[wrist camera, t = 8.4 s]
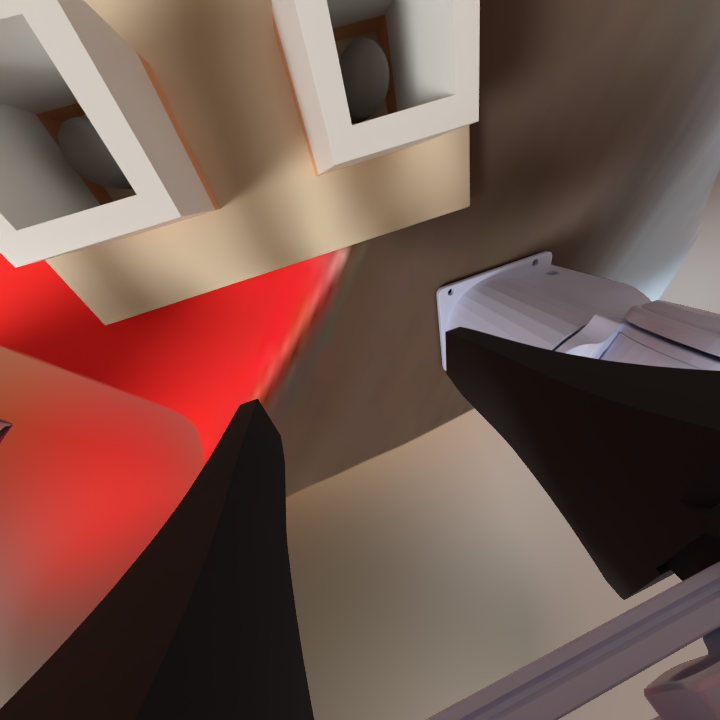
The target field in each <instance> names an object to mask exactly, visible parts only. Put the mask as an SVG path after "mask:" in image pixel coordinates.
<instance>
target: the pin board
mask: <svg viewBox="0 0 720 720" xmlns="http://www.w3.org/2000/svg"><path fill="white" fill-rule="evenodd" d="M84 1H85V2H86V3H87V4H88V5H89V6H90V7H91V8H92V9H93V10H94V11H95V12H96V13H97V14H98V15H99V16H100V17H101V18H102V19H104V20H105V21H106V22H107V23H108V24H109V25H110V26H111V27H112V28H113V29H114V30H115V31H116V32H117V33H118V34H119V35H120V36H121V37H122V38H123V39H124V40H125V41H126V42H127V43H128V44H129V45H130V46H131V47H132V48H133V49H134V50H135V51H136V52H137V53H138V54H139V55H140V56H142V57H143V58H144V59H145V60H146V61H147V62H148V63H149V64H150V65H151V67H152V70H153V72H154V74H155V76H156V78H157V80H158V82H159V84H160V86H161V88H162V90H163V92H164V94H165V96H166V98H167V100H168V102H169V104H170V106H171V108H172V110H173V112H174V115H175V117H176V119H177V121H178V123H179V125H180V127H181V129H182V131H183V133H184V135H185V137H186V139H187V141H188V143H189V145H190V147H191V149H192V151H193V153H194V155H195V157H196V160H197V162H198V164H199V166H200V168H201V170H202V172H203V174H204V176H205V178H206V180H207V182H208V184H209V186H210V188H211V190H212V192H213V194H214V196H215V198H216V200H217V202H218V205H219V207H220V209H218V210H215V211H211V212H208V213H205V214H202V215H198V216H195V217H192V218H189V219H185V220H182V221H179V222H176V223H172V224H169V225H166V226H163V227H159V228H156V229H153V230H150V231H146V232H143V233H140V234H137V235H133V236H130V237H127V238H124V239H121V240H117V241H113V242H109V243H106V244H102V245H98V246H95V247H91V248H87V249H83V250H80V251H76V252H72V253H68V254H65V255H61V256H57V257H54V258H50V259H46V260H45V261H46V262H47V263H48V264H49V265H50V266H51V267H52V268H53V269H54V271H55V272H56V273H57V274H58V275H59V276H60V277H61V278H62V279H63V280H64V281H65V282H66V284H67V285H68V286H69V287H70V288H71V289H72V290H73V291H74V292H75V293H76V294H77V296H78V297H79V298H80V299H81V300H82V301H83V302H84V303H85V304H86V305H87V306H88V307H89V309H90V310H91V311H92V312H93V313H94V314H95V315H96V316H97V317H98V318H99V319H100V320H101V322H102V323H103V324H104V325H109V324H112V323H115V322H118V321H121V320H124V319H127V318H130V317H133V316H136V315H139V314H142V313H145V312H148V311H151V310H154V309H157V308H160V307H164V306H167V305H170V304H173V303H176V302H179V301H182V300H185V299H188V298H191V297H194V296H197V295H200V294H203V293H206V292H209V291H212V290H216V289H219V288H222V287H225V286H228V285H231V284H234V283H237V282H240V281H243V280H246V279H249V278H252V277H255V276H258V275H261V274H264V273H267V272H271V271H274V270H277V269H280V268H283V267H286V266H289V265H292V264H295V263H298V262H301V261H304V260H307V259H310V258H313V257H316V256H319V255H322V254H326V253H329V252H332V251H335V250H338V249H341V248H344V247H347V246H350V245H353V244H356V243H359V242H362V241H365V240H368V239H371V238H374V237H378V236H381V235H384V234H387V233H390V232H393V231H396V230H399V229H402V228H405V227H408V226H411V225H414V224H417V223H420V222H423V221H426V220H429V219H433V218H436V217H439V216H442V215H445V214H448V213H451V212H454V211H457V210H460V209H463V208H466V207H469V206H470V143H469V125H467V126H464V127H462V128H459V129H457V130H454V131H451V132H449V133H446V134H444V135H441V136H438V137H436V138H433V139H430V140H428V141H425V142H423V143H420V144H417V145H415V146H412V147H410V148H407V149H404V150H400V151H397V152H394V153H391V154H387V155H384V156H381V157H378V158H374V159H371V160H368V161H365V162H361V163H358V164H355V165H352V166H348V167H345V168H342V169H339V170H335V171H332V172H329V173H326V174H322V175H319V176H316V175H315V171H314V168H313V164H312V161H311V157H310V154H309V151H308V147H307V144H306V140H305V137H304V133H303V130H302V126H301V123H300V119H299V116H298V112H297V109H296V105H295V102H294V98H293V95H292V91H291V88H290V84H289V81H288V77H287V74H286V70H285V67H284V63H283V60H282V56H281V53H280V49H279V46H278V42H277V39H276V35H275V32H274V28H273V16H272V1H271V0H84ZM335 44H336V49H337V54H338V59H339V64H340V69H341V74H342V79H343V84H344V88H345V93H346V98H347V103H348V108H349V113H350V118H351V123H352V125H355V124H358V123H362V122H365V121H368V120H372V119H375V118H378V117H382V116H385V115H388V110H387V103H386V94H387V91H388V86H389V66H388V61H387V59H386V56H385V54H384V52H383V50H382V49H381V47H380V46H379V45H378V38H377V31H372V32H369V33H365V34H362V35H358V36H354V37H351V38H347V39H343V40H340V41H336V42H335ZM60 124H61V127H60V128H59V132H58V142H59V146H60V149H61V151H62V153H63V155H64V157H65V158H66V160H67V161H68V163H69V164H70V165H71V166H72V167H73V168H74V169H75V170H76V171H77V172H78V173H79V174H81V175H82V176H83V177H85V178H86V179H88V180H90V181H91V182H93V183H95V184H98V185H100V186H104V188H105V189H106V191H107V192H108V194H109V195H110V197H111V198H112V200H113V201H117V200H121V199H124V198H127V197H131V196H134V195H137V194H136V193H135V191H134V189H133V188H132V186H131V185H130V183H129V181H128V180H127V178H126V177H125V175H124V174H123V172H122V170H121V169H120V167H119V166H118V164H117V163H116V161H115V159H114V158H113V156H112V155H111V153H110V152H109V150H108V148H107V147H106V145H105V144H104V142H103V140H102V139H101V137H100V136H99V134H98V133H97V131H96V129H95V128H94V126H93V125H92V123H91V122H90V120H89V118H88V117H87V115H83V116H79V117H73V118H70V119H68V120H65V121H62V122H60Z"/></svg>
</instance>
